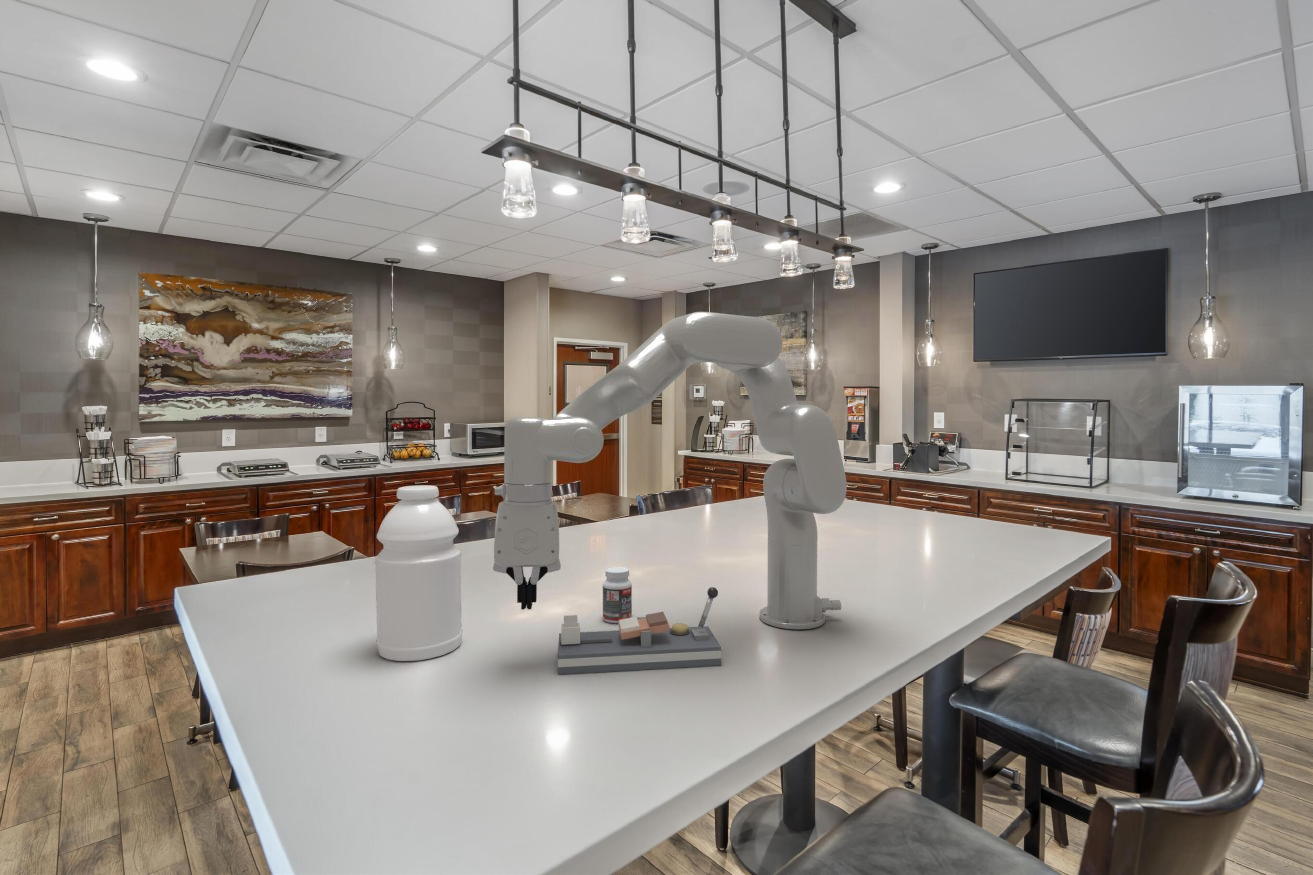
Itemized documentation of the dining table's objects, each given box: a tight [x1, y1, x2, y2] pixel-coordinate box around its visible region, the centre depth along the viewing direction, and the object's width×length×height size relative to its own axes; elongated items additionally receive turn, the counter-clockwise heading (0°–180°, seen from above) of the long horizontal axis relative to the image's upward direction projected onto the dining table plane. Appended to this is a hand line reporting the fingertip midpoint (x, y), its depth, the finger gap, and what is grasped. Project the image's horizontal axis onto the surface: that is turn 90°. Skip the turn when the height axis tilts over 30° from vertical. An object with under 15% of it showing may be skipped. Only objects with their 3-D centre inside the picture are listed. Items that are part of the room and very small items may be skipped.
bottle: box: [374, 484, 463, 662], centre depth 109 cm, size 14×14×28 cm
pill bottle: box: [602, 566, 633, 624], centre depth 124 cm, size 6×6×10 cm
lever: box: [697, 586, 719, 629], centre depth 106 cm, size 2×2×7 cm
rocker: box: [617, 611, 671, 640], centre depth 104 cm, size 8×5×2 cm, turn 97°
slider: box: [560, 614, 581, 645], centre depth 103 cm, size 3×2×4 cm
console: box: [557, 616, 722, 676], centre depth 104 cm, size 26×10×6 cm, turn 98°
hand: (526, 606), depth 101 cm, fingers closed
